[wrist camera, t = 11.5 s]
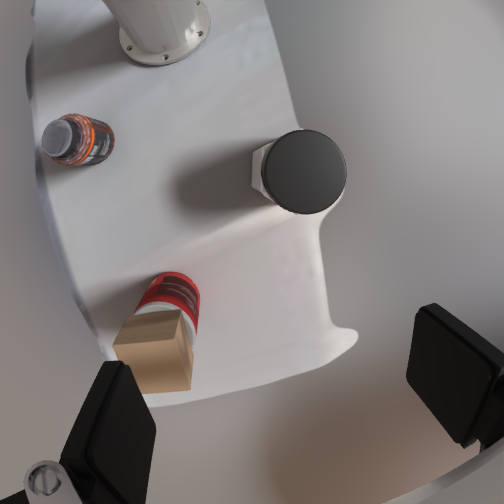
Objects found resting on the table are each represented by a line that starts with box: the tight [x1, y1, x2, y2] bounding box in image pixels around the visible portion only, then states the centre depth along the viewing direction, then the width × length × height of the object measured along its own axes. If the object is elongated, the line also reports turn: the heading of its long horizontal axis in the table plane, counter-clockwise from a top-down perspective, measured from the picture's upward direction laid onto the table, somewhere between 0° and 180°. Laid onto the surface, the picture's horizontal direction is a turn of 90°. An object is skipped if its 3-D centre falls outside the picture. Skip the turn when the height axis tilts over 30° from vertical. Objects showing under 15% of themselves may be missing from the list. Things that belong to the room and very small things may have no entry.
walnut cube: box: [113, 309, 194, 394], centre depth 28 cm, size 6×6×6 cm
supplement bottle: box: [42, 114, 114, 165], centre depth 30 cm, size 6×6×11 cm
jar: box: [251, 129, 347, 215], centre depth 33 cm, size 9×8×12 cm
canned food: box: [133, 272, 200, 350], centre depth 37 cm, size 8×8×11 cm
